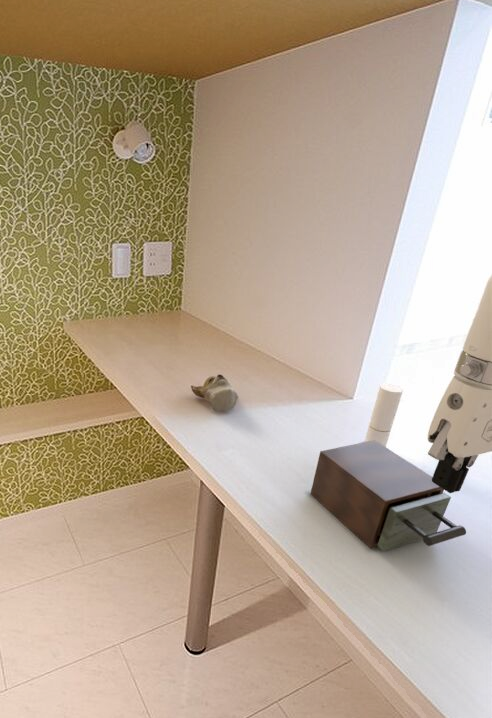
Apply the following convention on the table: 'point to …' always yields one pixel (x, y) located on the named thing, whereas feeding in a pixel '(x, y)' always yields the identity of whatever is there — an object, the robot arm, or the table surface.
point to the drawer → (417, 522)
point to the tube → (384, 413)
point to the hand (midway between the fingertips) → (445, 486)
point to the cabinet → (366, 485)
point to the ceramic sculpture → (217, 393)
